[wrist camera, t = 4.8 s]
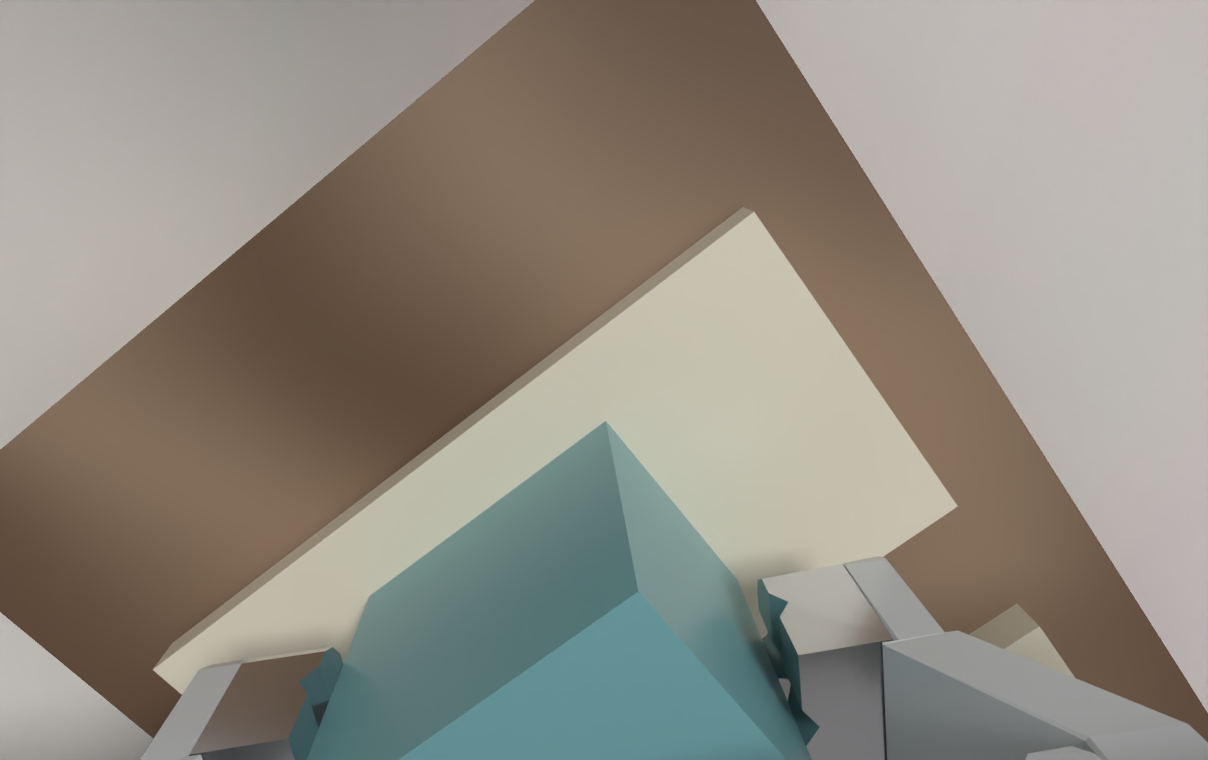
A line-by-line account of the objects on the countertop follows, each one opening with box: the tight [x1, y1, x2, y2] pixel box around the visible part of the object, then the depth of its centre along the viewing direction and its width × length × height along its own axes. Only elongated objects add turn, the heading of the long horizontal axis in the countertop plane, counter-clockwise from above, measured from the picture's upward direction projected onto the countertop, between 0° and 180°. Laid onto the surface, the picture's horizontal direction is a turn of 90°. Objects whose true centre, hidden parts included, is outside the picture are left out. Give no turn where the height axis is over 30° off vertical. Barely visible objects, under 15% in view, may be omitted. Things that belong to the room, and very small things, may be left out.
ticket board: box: [0, 0, 1208, 742], centre depth 13 cm, size 13×20×2 cm, turn 37°
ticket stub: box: [153, 207, 958, 760], centre depth 9 cm, size 10×5×5 cm, turn 127°
